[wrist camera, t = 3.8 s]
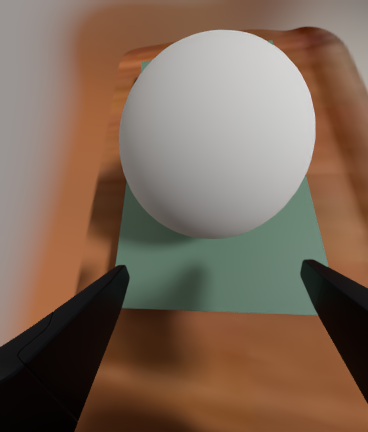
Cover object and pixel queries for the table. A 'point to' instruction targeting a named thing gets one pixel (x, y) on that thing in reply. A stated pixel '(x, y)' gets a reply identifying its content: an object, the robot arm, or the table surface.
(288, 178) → the ball
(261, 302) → the putting board
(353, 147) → the table surface
